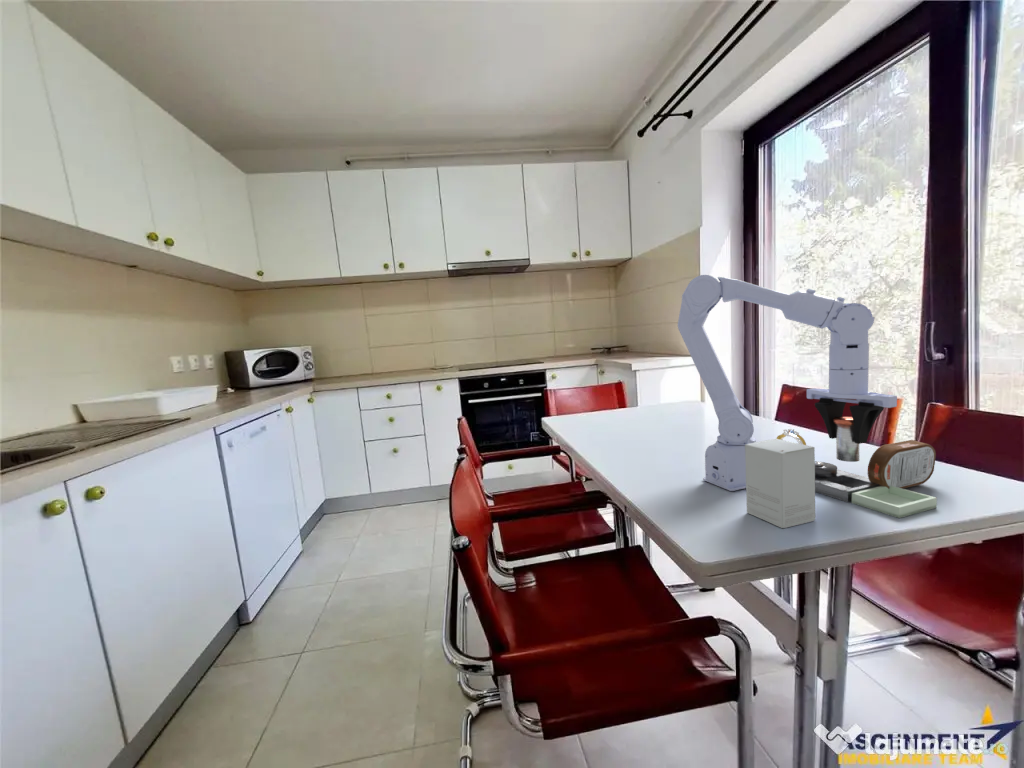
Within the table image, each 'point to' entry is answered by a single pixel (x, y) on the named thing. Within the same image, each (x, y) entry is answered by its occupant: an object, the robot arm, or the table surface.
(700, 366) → the robot arm
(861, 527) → the table surface
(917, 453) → the tin
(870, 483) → the tensioner block
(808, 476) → the supplement box
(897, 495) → the tray
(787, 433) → the ring
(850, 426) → the jar with copper lid
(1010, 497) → the table surface
